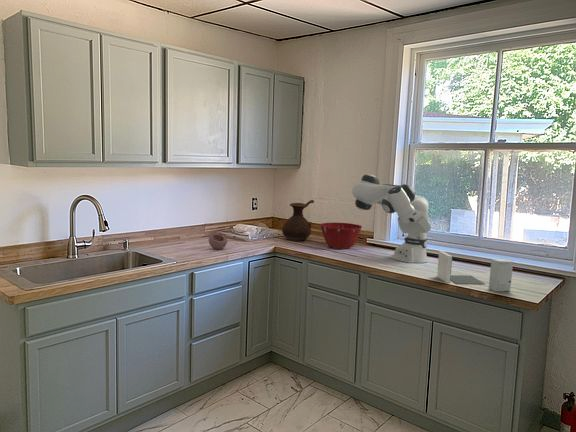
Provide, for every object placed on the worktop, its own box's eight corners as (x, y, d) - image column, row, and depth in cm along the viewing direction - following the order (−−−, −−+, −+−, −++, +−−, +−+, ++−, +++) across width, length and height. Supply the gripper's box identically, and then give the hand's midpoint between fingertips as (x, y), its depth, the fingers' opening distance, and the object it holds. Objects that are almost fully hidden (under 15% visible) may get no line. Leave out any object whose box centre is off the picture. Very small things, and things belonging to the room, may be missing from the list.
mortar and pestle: (217, 251, 292) (217, 234, 290) (204, 249, 299) (204, 231, 297) (231, 249, 301) (231, 231, 300) (218, 246, 308) (218, 229, 307)
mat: (456, 284, 233) (456, 283, 233) (443, 275, 249) (443, 275, 248) (485, 284, 234) (485, 283, 234) (471, 276, 249) (471, 275, 249)
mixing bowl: (340, 241, 338) (341, 221, 336) (369, 248, 316) (370, 226, 314) (311, 245, 321) (312, 223, 319) (339, 253, 299) (340, 229, 297)
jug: (296, 243, 327) (297, 201, 323) (276, 238, 342) (277, 198, 338) (317, 240, 341) (318, 200, 337) (297, 236, 357) (298, 197, 353)
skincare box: (495, 291, 221) (498, 261, 219) (487, 288, 227) (490, 258, 225) (511, 291, 223) (513, 261, 221) (503, 287, 229) (505, 258, 227)
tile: (446, 283, 234) (448, 256, 233) (437, 276, 246) (438, 251, 244) (450, 283, 235) (452, 256, 233) (441, 276, 246) (443, 251, 245)
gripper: (392, 220, 243) (404, 242, 245) (416, 218, 224) (429, 242, 226) (400, 214, 245) (412, 235, 248) (425, 212, 226) (438, 235, 229)
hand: (420, 239), depth 237 cm, fingers closed
